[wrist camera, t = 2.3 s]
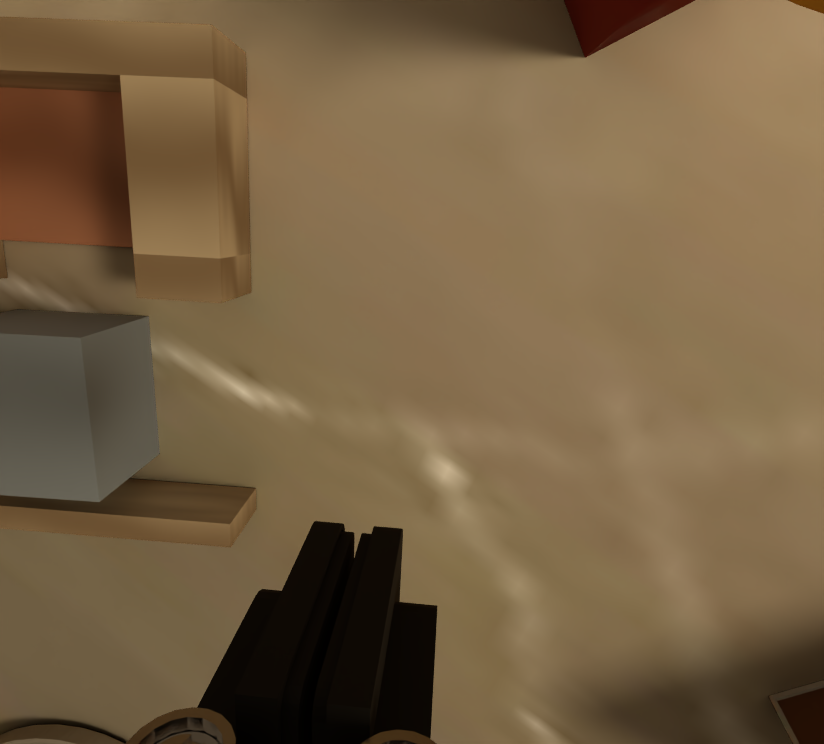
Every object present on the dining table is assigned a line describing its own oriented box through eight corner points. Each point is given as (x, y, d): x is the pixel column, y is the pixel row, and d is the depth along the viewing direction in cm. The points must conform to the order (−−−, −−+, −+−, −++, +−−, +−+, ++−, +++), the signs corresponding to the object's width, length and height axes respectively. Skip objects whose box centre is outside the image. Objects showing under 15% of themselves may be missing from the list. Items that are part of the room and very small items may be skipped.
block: (161, 452, 25) (99, 502, 20) (39, 444, 25) (-48, 491, 20) (150, 315, 23) (80, 337, 19) (20, 308, 23) (-78, 329, 19)
